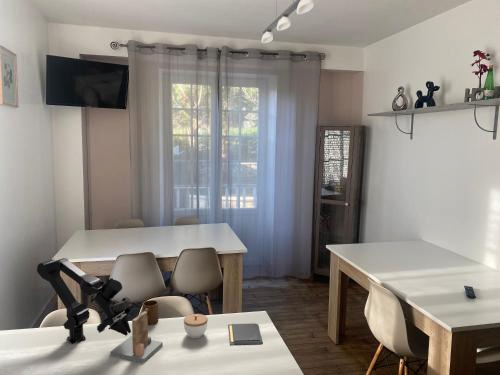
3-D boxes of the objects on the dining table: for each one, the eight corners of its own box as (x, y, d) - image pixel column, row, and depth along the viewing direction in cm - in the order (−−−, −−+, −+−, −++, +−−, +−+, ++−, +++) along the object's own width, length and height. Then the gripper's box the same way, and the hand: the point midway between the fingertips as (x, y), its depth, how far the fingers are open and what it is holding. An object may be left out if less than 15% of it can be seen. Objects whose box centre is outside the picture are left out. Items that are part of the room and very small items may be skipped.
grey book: (263, 342, 169) (228, 342, 168) (263, 346, 169) (228, 346, 168) (259, 321, 189) (228, 321, 188) (259, 325, 189) (228, 325, 188)
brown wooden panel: (144, 342, 165) (144, 311, 164) (147, 343, 165) (147, 311, 164) (132, 353, 157) (132, 320, 156) (135, 353, 157) (135, 320, 155)
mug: (152, 329, 181) (152, 310, 180) (137, 329, 182) (136, 309, 181) (160, 318, 193) (160, 300, 192) (145, 317, 194) (145, 299, 193)
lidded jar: (211, 336, 175) (211, 317, 174) (190, 343, 169) (190, 322, 168) (200, 327, 184) (200, 308, 183) (180, 333, 178) (179, 313, 177)
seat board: (110, 355, 159) (110, 342, 158) (131, 339, 172) (130, 327, 172) (143, 362, 154) (143, 349, 153) (162, 345, 167) (162, 333, 167)
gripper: (102, 301, 153) (126, 333, 151) (131, 286, 171) (152, 314, 169) (86, 317, 157) (109, 348, 154) (116, 300, 174) (137, 328, 172)
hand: (128, 333), depth 162 cm, fingers closed
